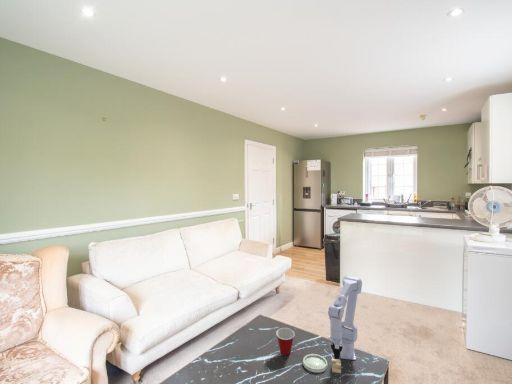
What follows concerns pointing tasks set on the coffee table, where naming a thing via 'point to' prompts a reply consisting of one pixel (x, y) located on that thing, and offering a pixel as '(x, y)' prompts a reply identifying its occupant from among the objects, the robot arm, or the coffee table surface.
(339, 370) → the birch block
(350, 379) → the coffee table surface
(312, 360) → the celadon dish
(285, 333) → the plastic cup
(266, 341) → the coffee table surface
